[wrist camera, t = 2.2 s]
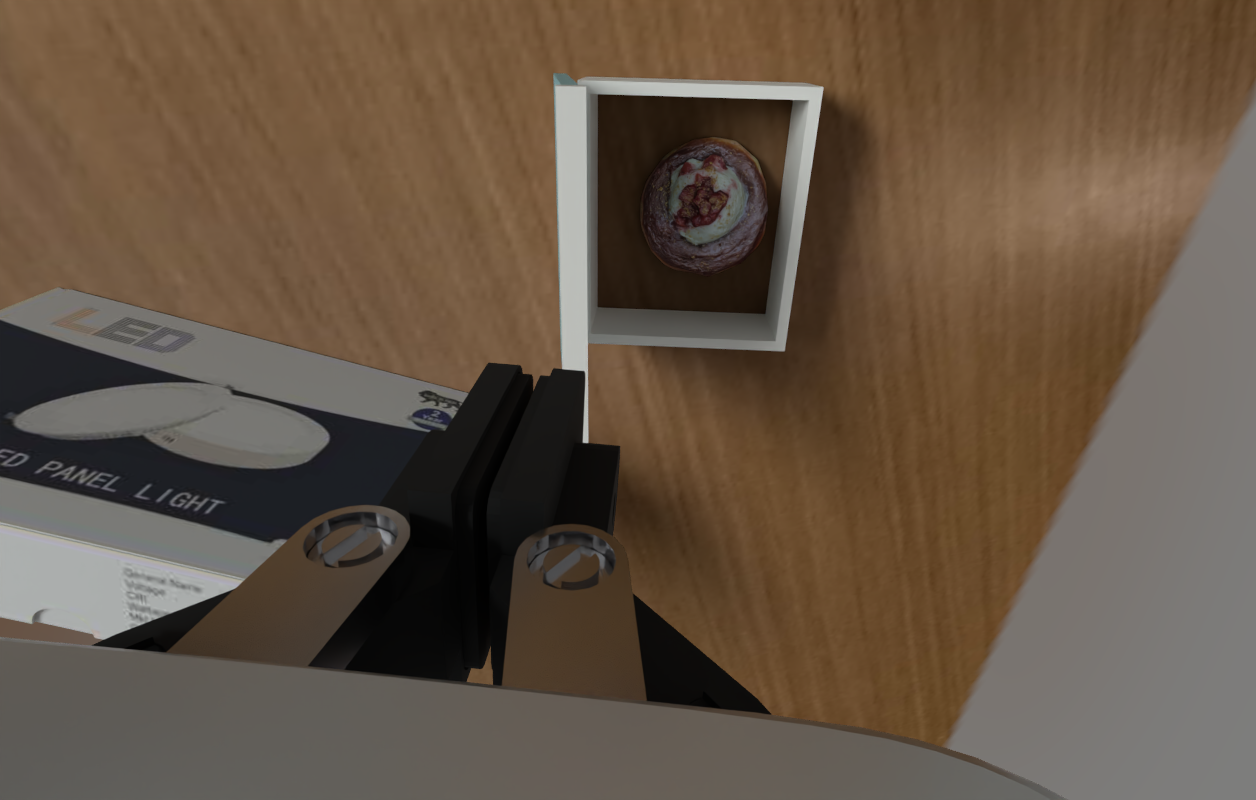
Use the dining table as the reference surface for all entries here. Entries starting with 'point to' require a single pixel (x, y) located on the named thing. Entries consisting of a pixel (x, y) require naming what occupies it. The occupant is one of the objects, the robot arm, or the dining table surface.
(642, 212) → the pastry
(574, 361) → the lid
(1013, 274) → the dining table surface
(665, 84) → the box
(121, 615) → the packaging
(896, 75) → the dining table surface
